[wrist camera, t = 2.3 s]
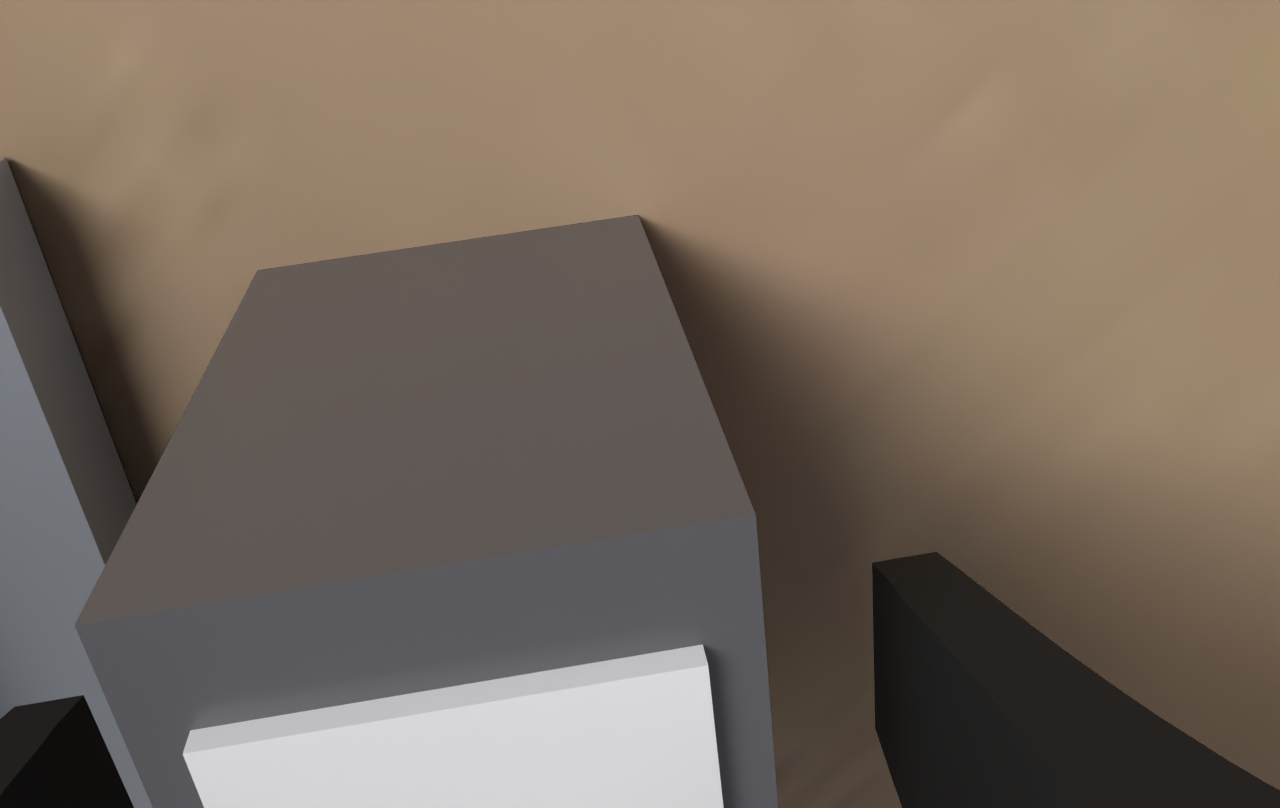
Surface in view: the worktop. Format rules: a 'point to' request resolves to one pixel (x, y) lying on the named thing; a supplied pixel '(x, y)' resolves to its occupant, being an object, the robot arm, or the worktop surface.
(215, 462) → the block
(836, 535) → the worktop surface
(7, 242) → the drive tray
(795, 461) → the worktop surface
